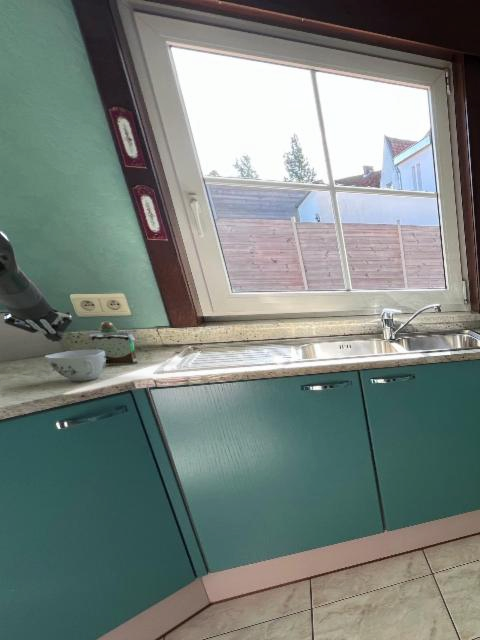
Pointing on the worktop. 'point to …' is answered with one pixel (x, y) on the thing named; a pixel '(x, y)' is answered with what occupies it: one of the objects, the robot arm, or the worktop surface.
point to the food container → (115, 347)
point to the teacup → (78, 364)
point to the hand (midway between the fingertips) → (56, 338)
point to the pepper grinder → (107, 327)
